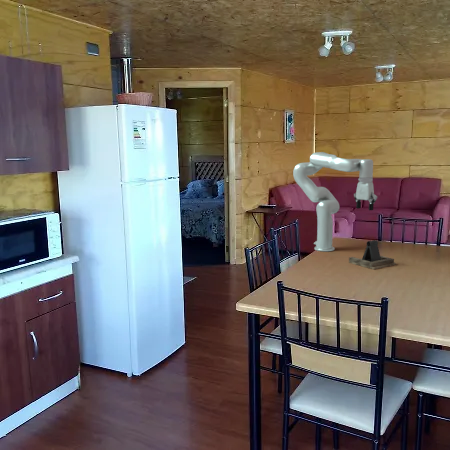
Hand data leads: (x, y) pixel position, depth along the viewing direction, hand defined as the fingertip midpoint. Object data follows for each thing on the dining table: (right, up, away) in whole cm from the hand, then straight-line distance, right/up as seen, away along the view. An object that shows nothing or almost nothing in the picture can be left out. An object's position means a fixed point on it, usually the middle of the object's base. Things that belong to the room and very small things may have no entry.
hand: (364, 209), depth 281 cm
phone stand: (0, -30, -14) cm, 33 cm away
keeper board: (0, -31, -15) cm, 35 cm away
